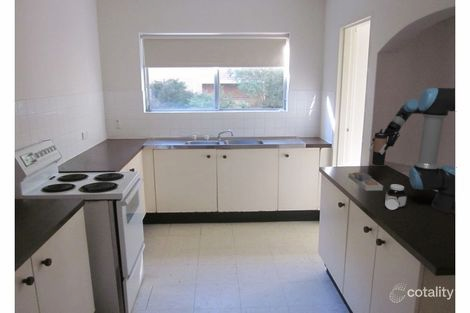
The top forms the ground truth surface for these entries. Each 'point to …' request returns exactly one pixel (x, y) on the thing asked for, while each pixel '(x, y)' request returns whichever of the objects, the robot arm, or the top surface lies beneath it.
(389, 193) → the spread jar
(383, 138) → the travel mug
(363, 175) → the middle key
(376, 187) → the grey tray
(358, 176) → the key
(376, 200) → the top surface
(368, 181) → the key
